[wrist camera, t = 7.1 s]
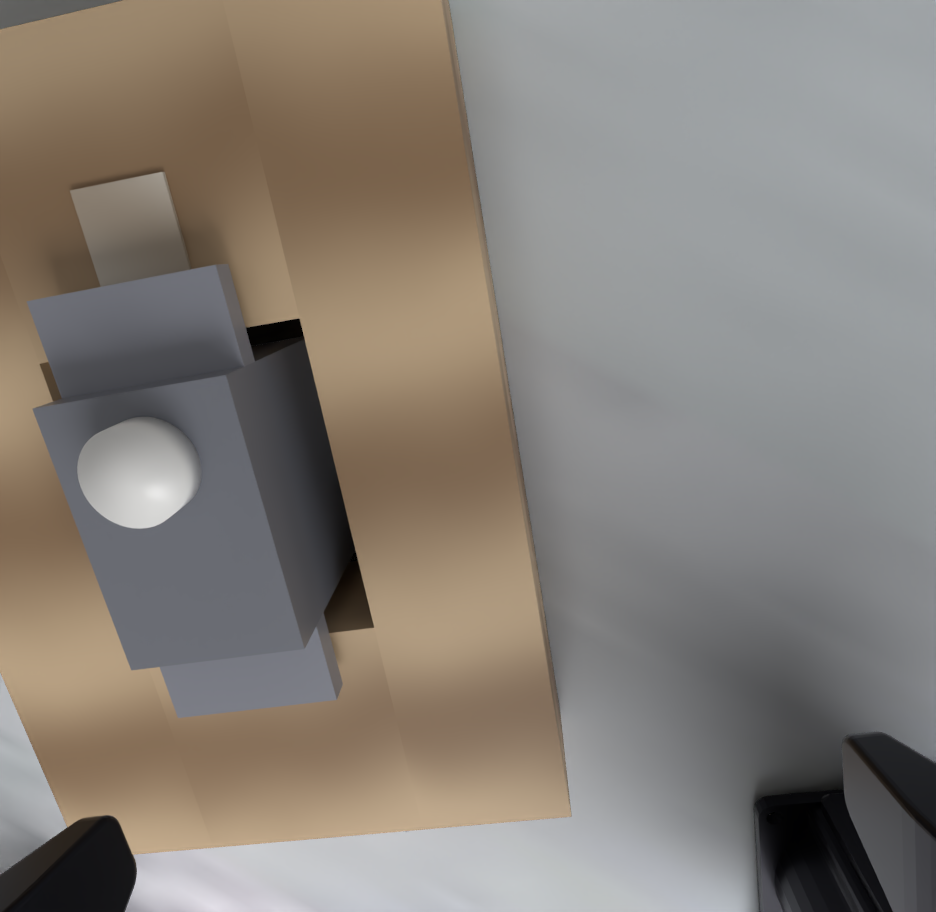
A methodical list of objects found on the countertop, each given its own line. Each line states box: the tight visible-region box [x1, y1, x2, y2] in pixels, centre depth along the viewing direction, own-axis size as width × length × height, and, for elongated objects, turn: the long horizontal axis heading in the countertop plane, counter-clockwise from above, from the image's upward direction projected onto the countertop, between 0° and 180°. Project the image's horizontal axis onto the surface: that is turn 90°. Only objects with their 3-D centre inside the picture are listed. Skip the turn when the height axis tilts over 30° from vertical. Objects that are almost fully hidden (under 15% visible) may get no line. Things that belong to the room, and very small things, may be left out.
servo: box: [27, 264, 355, 718], centre depth 16 cm, size 10×4×7 cm, turn 10°
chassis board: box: [0, 0, 571, 854], centre depth 17 cm, size 20×14×4 cm
